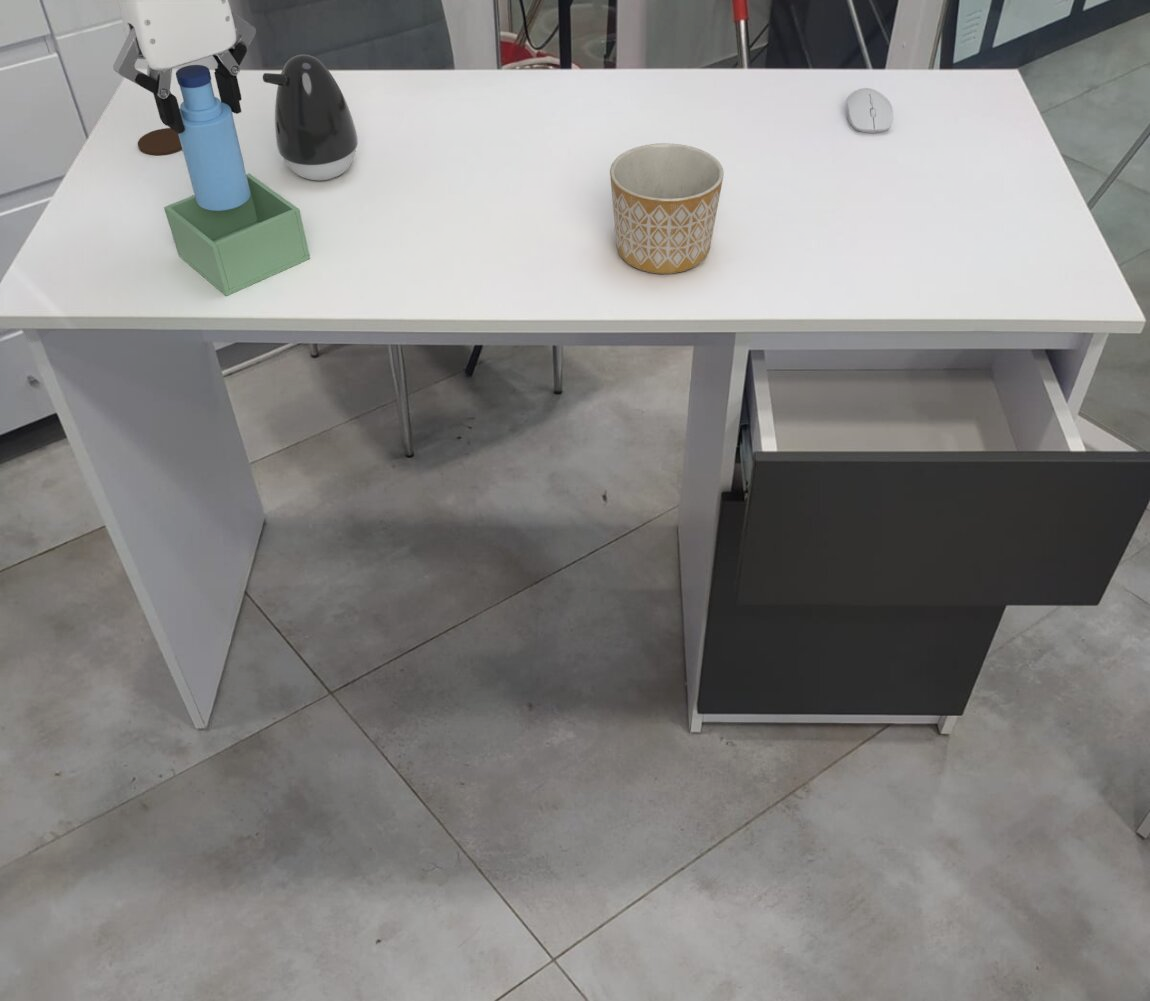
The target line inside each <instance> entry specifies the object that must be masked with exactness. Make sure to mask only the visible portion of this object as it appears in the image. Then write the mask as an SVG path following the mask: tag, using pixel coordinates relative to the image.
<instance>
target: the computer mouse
mask: <svg viewBox="0 0 1150 1001" xmlns="http://www.w3.org/2000/svg"><path fill="white" fill-rule="evenodd" d="M845 103H846V115H847V121H848V123H849V124H850V126H851V127H852V128H853V129H854V130H856V131H858V132H861V133H867V134H868V133H869V134H878V133H883V132H886V131H888V130H890V129H891V128H892V126H893V122H894V110H893V106H892V103H891V102H890V100H889V99H888V98H887V97H886V96H885V95H883V94H882V93H881V92H879V91H877V90H876V89H873V88H869V87H861V88H859V89H856V90H854V91H852V92H851V93H850V94H849V95H848V96H847V97H846V102H845Z"/></svg>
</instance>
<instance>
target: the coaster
mask: <svg viewBox="0 0 1150 1001" xmlns="http://www.w3.org/2000/svg"><path fill="white" fill-rule="evenodd" d="M137 147H138V149H139V151H140V152H142V153H143V154H146V155H151V156H165V155H171V154H174V153H178V152H180V151H183V150H182V146H181V142H180V139H179V135H178V133H177V132H175V131H174V130H173V129H171V128H170V127H165V128H159V129H155V130H152V131H150V132H147V133H145V134H143V135H142V136H141V137H140V138H139V139H138V141H137Z"/></svg>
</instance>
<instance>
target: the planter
mask: <svg viewBox="0 0 1150 1001" xmlns="http://www.w3.org/2000/svg"><path fill="white" fill-rule="evenodd" d="M724 172H725V171H724V168H723V165H722V164H721V163H720V161H719V160H718V159H717V158H716V157H715V156H713V155H712V154H710V153H709V152H707V151H705V150H702V149H700V148H697V147H694V146H691V145H687V144H679V143H670V142H669V143H667V142H666V143H665V142H664V143H650V144H644V145H640V146H637V147H633V148H631V149H628V150H626V151H624V152H623V153H621V154H619V155H618V156H617V157H616V158H615V159H614V160H613V162H612V163H611V164H610V168H609V177H610V188H611V201H612V213H613V222H614V234H615V245H616V249H617V252H618V254H619V256H620V257H621V258H622V260H623V261H625V263H627V264H628V265H629V266H631V267H633V268H635V269H637V270H639V271H643V272H647V273H651V274H657V275H658V274H661V275H671V274H678V273H683V272H685V271H686V272H687V271H688V270H691V269H693V268H695V267H697V266H698V265H700V264H701V263H702V262H703V261H704V260H705V259H706V258H707V256H708V255H709V252H710V249H711V244H712V240H713V234H714V229H715V223H716V218H717V213H718V207H719V202H720V198H721V197H720V196H721V192H722V191H721V190H722V187H723V181H724Z"/></svg>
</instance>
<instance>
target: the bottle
mask: <svg viewBox="0 0 1150 1001" xmlns="http://www.w3.org/2000/svg"><path fill="white" fill-rule="evenodd" d="M175 77H176V81H177V84H178V85H179V90H180V92H181V96H182V100H183V101H182V102H181V104H180V106H179V109H180V113H181V117H182V121H183V124H184V128H185V131H184V132H183V133H180V134H178V135H179V139H180V142H181V146H182V150H181V151H182V153H183V157H184V161H185V164H186V168H187V172H188V175H189V179H190V183H191V187H192V191H193V195H195V198H196V202H197V204H198V205H199V206H200V207H202V208H204V209H207V210H213V211H222V210H229V209H233V208H236V207H238V206H241V205H242V204H244V203H245V202H246V201H247V200H248V199H249V198H250V189H249V185H248V180H247V176H246V174H247V172H246V168H245V162H244V158H243V154H242V150H241V145H240V140H239V136H238V132H237V127H236V124H235V118H234V115H233V114H234V113H233V112H232V110H231V108H230V107H229V106H228V105H227V104H225V103H222V102H221V99H220V98H218V97H216V96H215V93H214V88H213V83H212V76H211V72H210V68H208V66H205V65H201V64H192V65H191V64H190V65H186V66H183V67H180V68H179V69H177V70H176V72H175Z"/></svg>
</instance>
